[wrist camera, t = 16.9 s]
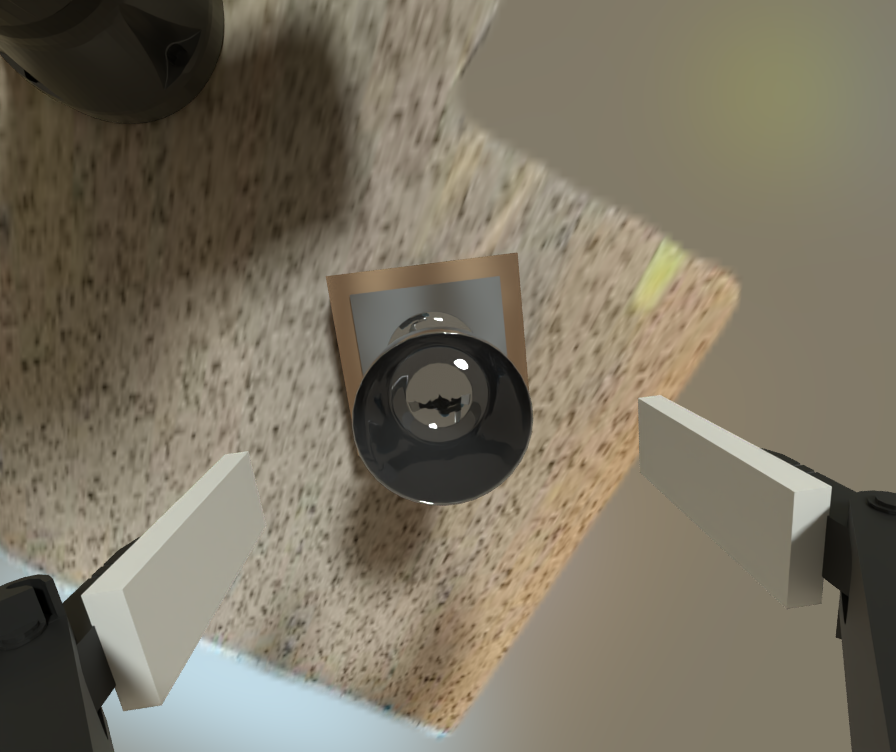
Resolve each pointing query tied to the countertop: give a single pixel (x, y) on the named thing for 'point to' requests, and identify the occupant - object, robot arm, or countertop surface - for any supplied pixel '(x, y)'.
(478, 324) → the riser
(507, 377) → the wine glass
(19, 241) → the countertop surface
